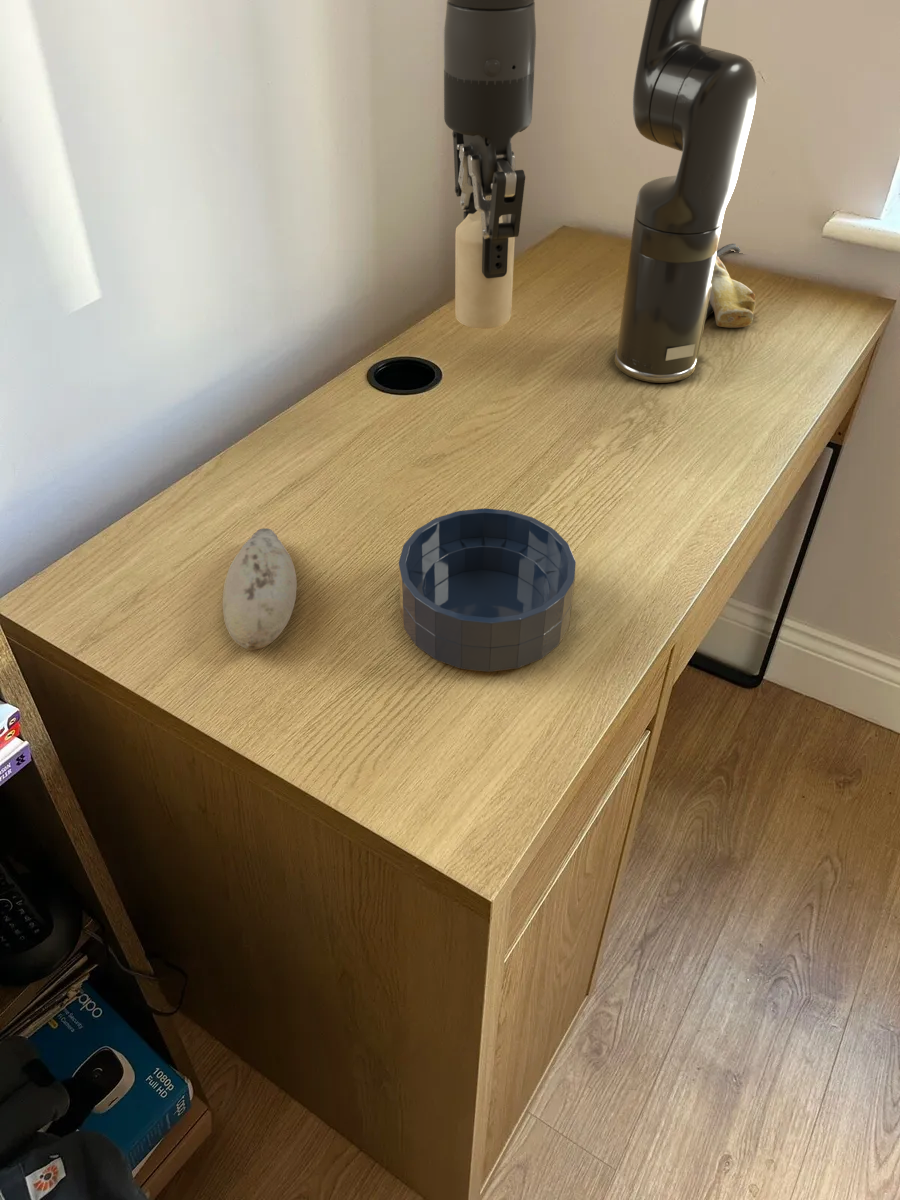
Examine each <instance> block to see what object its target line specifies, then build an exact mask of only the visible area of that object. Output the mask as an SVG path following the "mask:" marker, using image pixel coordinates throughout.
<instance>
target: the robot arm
mask: <svg viewBox="0 0 900 1200" xmlns="http://www.w3.org/2000/svg"><path fill="white" fill-rule="evenodd" d="M708 3H709V0H649V6H648V10H647V17H646V21H645V27H644V30H643V35H642V41H641V45H640V50H639V55H638V60H637V67H636V71H635V77H634V85H633V92H632V94H633V95H632V114H633V115H632V116H633V120H634V125H635V127H636V129H637V131H638V132H639V134H640V135H641V136H642V137H644V138H645V139H647V140H649V141H651V142H653V143H656V144H658V145H662V146H664V147H668V148H671V149H674V150H676V151H679V152H682V153H681V156H680V160H679V165H678V169H677V172H676V175H669V176H663V177H658V178H655V179H653V180H650V181H648V182H646V183H644V184H643V185H642V186H641V187H640V188H639V190H638V192H637V196H636V203H635V209H634V219H633V225H632V232H631V240H630V249H629V257H628V262H627V263H628V264H627V272H626V280H625V286H624V294H623V301H622V302H623V303H622V309H621V316H620V324H619V331H618V339H617V347H616V349H615V353H614V354H615V355H614V363H615V365H616V368H618V369H619V371H620V372H622V373H623V374H624V375H626V376H628V377H630V378H633V379H635V380H639V381H643V382H647V383H648V382H649V383H657V384H658V383H659V384H666V383H674V382H679V381H682V380H684V379H687V378H689V377H690V376H691V375H692V374H693V373H694V372H695V371H696V366H697V360H698V359H699V355H700V349H701V344H702V339H703V333H704V329H705V325H706V324H705V323H706V320H707V319H708V317H709V316H710V315H711V314H712V313H713V312H714V310H713V308H712V305H711V303H710V301H709V298H710V293H711V288H712V284H711V279H712V273H713V268H714V263H715V258H716V255H717V256H718V257H719V258H720V257H721V256H722V255H724V253H726V252H728V251H730V250H731V251H732V250H734V252H736V253H740V252H741V251H742V250H741V247H740V246H739V245H738V247H736V243H729V244H726V245H724V246H722V247H721V248H719V249H718V246H719V242H720V236H721V231H722V226H723V221H724V217H725V212H726V210H727V209H726V208H727V206H728V204H729V202H730V200H731V197H732V195H733V193H734V190H735V187H736V184H737V181H738V178H739V173H740V169H741V165H742V161H743V156H744V152H745V149H746V145H747V141H748V137H749V133H750V129H751V125H752V121H753V116H754V113H755V107H756V101H757V90H758V89H757V87H758V85H757V76H756V72H755V71H756V70H755V68H754V66H753V65H752V63H751V61H750V60H748V59H747V58H746V57H744V56H741V55H739V54H736V53H732V52H728V51H724V50H721V49H716V48H712V47H708V46H704V45H702V37H703V30H704V29H703V28H704V23H705V18H706V13H707V8H708ZM535 5H536V2H535V0H446V11H445V19H444V27H443V28H444V29H443V119H444V123H445V124H446V126H447V127H448V128H449V129H450V130H451V131H452V133H451V134H452V141H453V142H452V143H453V166H454V192H455V195H456V197H457V198H459V197H460V200H459V205H460V208H461V210H462V211H463V220H464V219H465V218H466V217H467V215H468V214H474V213H475V212H476V211H479V212H480V213H481V221H482V234H483V248H482V273H483V275H484V276H485V277H486V278H497V277H503V276H505V275H506V273H507V259H508V238H510V237H515V238H518V237H519V235H520V227H521V219H522V211H523V210H522V209H523V200H524V194H525V193H524V192H525V184H526V183H525V182H526V174H525V170H523V169H516V157H515V156H516V155H515V152H514V151H513V150H512V149H513V148H512V147H513V146H512V142H511V141H512V138H513V137H514V136H515V135H516V134H518V133H522V132H524V131H525V130H526V129H527V128H529V126H530V125H531V124H532V120H533V105H534V104H533V103H534V102H533V101H534V85H535V68H536V67H535V66H536V47H537V46H536V45H537V25H536V11H535V10H536V6H535ZM490 198H491V199H490ZM500 216H502V220H503V223H499V218H500Z"/></svg>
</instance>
